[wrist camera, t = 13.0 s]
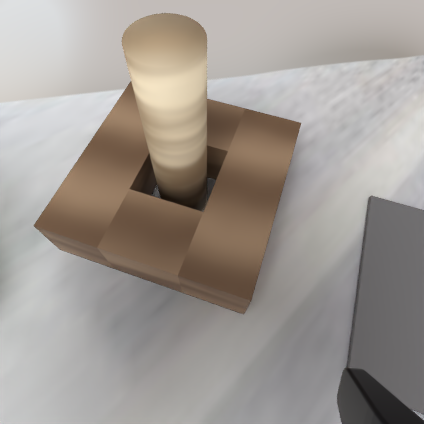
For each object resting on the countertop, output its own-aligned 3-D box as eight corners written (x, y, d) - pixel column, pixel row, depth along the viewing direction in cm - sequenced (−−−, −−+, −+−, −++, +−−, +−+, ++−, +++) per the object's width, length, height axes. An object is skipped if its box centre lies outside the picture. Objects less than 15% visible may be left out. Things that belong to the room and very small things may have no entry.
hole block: (243, 314, 21) (251, 300, 18) (59, 249, 23) (33, 225, 20) (289, 156, 28) (301, 122, 24) (141, 115, 30) (132, 79, 26)
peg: (213, 209, 25) (220, 53, 13) (170, 225, 24) (135, 76, 12) (196, 174, 27) (188, 6, 15) (155, 188, 26) (112, 23, 14)
